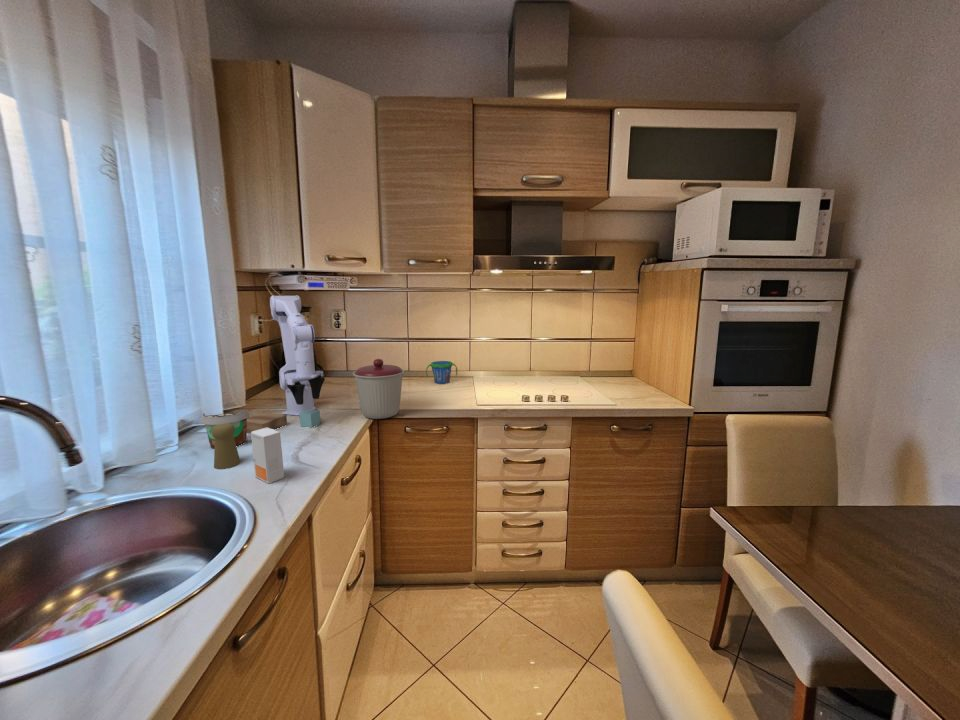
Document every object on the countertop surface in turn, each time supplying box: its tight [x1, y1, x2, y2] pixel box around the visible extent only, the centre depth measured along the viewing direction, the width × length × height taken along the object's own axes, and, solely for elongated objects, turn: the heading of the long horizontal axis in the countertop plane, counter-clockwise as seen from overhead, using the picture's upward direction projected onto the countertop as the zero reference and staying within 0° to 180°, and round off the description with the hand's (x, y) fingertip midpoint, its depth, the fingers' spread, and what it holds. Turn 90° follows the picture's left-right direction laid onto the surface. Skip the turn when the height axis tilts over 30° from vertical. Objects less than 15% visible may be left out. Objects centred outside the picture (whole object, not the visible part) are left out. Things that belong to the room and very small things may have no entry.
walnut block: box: [247, 411, 288, 434], centre depth 132 cm, size 10×10×4 cm
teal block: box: [299, 409, 322, 429], centre depth 135 cm, size 4×4×5 cm
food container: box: [200, 409, 250, 450], centre depth 116 cm, size 12×6×10 cm, turn 105°
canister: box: [352, 358, 405, 420], centre depth 145 cm, size 18×18×21 cm
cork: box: [212, 423, 241, 470], centre depth 104 cm, size 6×6×11 cm
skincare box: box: [250, 428, 285, 485], centre depth 96 cm, size 6×4×12 cm
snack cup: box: [425, 360, 458, 385], centre depth 197 cm, size 16×10×10 cm
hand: (308, 401), depth 134 cm, fingers open, 7 cm apart
